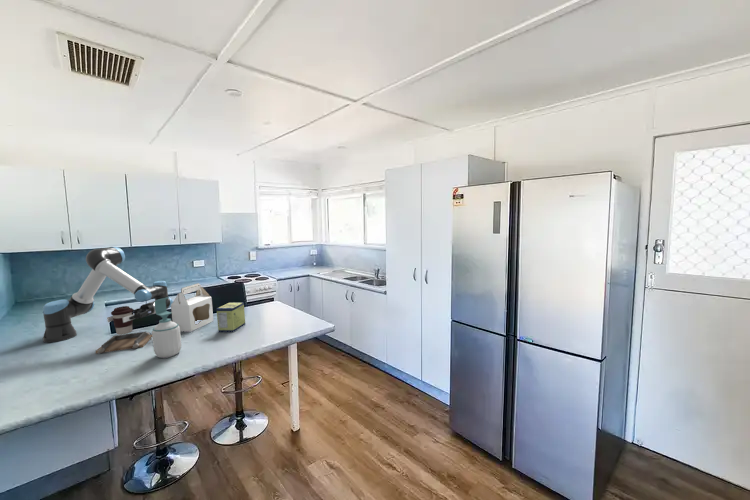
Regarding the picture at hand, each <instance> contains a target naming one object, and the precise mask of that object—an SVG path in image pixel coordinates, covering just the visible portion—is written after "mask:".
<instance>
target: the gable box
mask: <svg viewBox="0 0 750 500" xmlns="http://www.w3.org/2000/svg"><path fill="white" fill-rule="evenodd" d="M193 292H196V293H195V296H193V297H190V298H186V297H185V295H186V294H190V293H193ZM172 301H173V303H172V304H171V307H170V308H171V311H170V312H171V313H172V314H171V321H172V322H175V323H177V324H178V326H179V327H180V332H183V331H184V332H186V333H187V332H188V333H191V332H193V331H195V330H198V329H200V328H202V327H204V326H206V325H208V324H210V323H212V322H214V313H213V311H214V310H213V299H212V296H211V295H210V294H209V293H208V292H207V291H206V289H205V288H204V287H203V286H202V284H200V283H199V282H198V283H194V284H191V285H188V286H184V287H181V289H180V292H179V293H177V295H176V297H175V298H174V300H172ZM197 320H202V321H200V322H199V323H198V324H195V321H197Z"/></svg>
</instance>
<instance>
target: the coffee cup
mask: <svg viewBox="0 0 750 500" xmlns="http://www.w3.org/2000/svg"><path fill="white" fill-rule="evenodd" d="M133 309H134V308H132V307H130V306H127V305H123V306H118V307H115V308H114V309H113V310H111V312H110V314H111V316H113V321H112V322H113V326H114V328H115V332H116V335H123V334H131V333H133V332H132V331H133V320H134V319H133V320H130V321H127V322H124V323H123V319H122V318H124V317H127V316H130V315H132V311H133Z"/></svg>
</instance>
